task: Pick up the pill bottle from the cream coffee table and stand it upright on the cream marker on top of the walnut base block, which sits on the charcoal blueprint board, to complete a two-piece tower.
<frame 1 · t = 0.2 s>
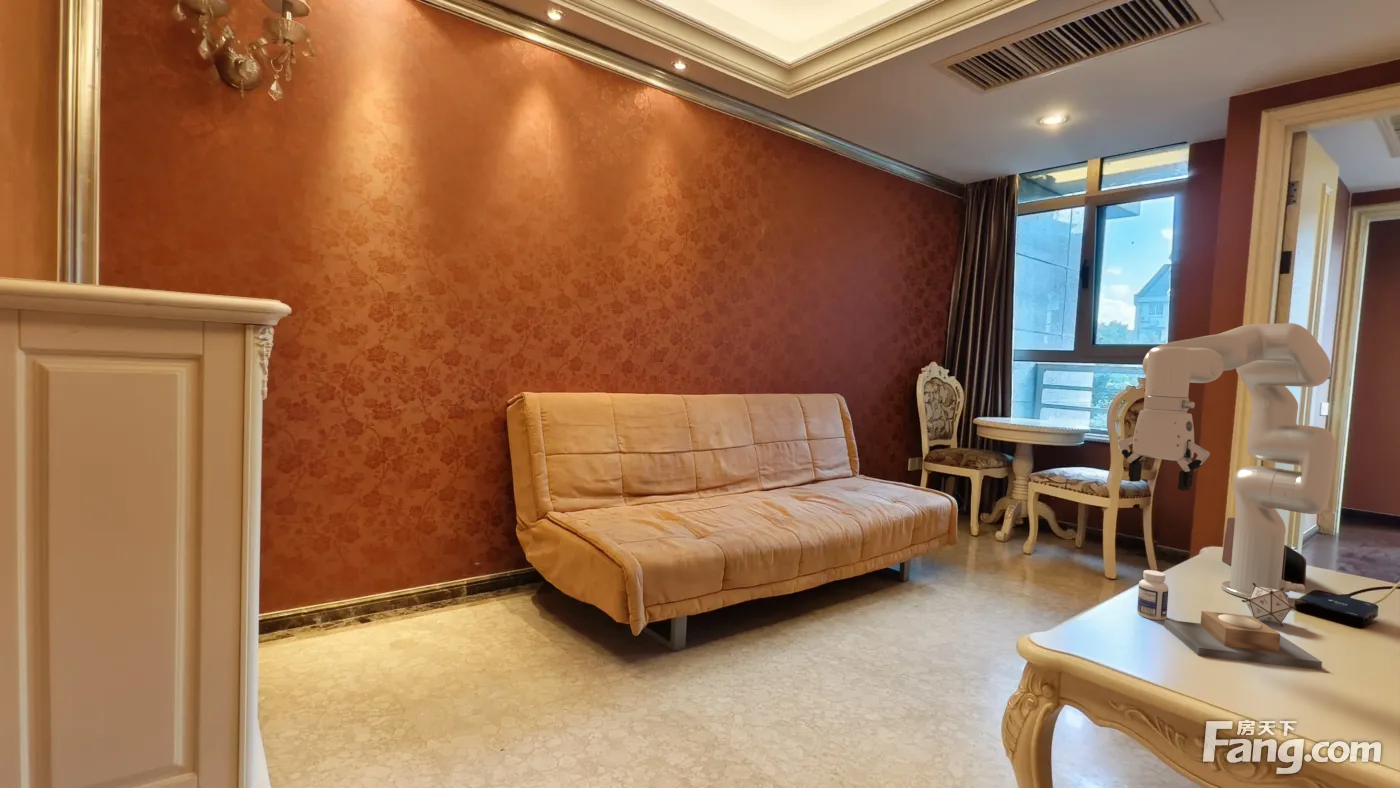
hand: (1158, 485, 140), 30 cm above the table, tool pointing down, fingers open, 9 cm apart
letter holder: (1260, 575, 179), on the table
game die: (1266, 622, 144), on the table
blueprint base: (1237, 646, 131), on the table
pill bottle: (1151, 616, 145), on the table
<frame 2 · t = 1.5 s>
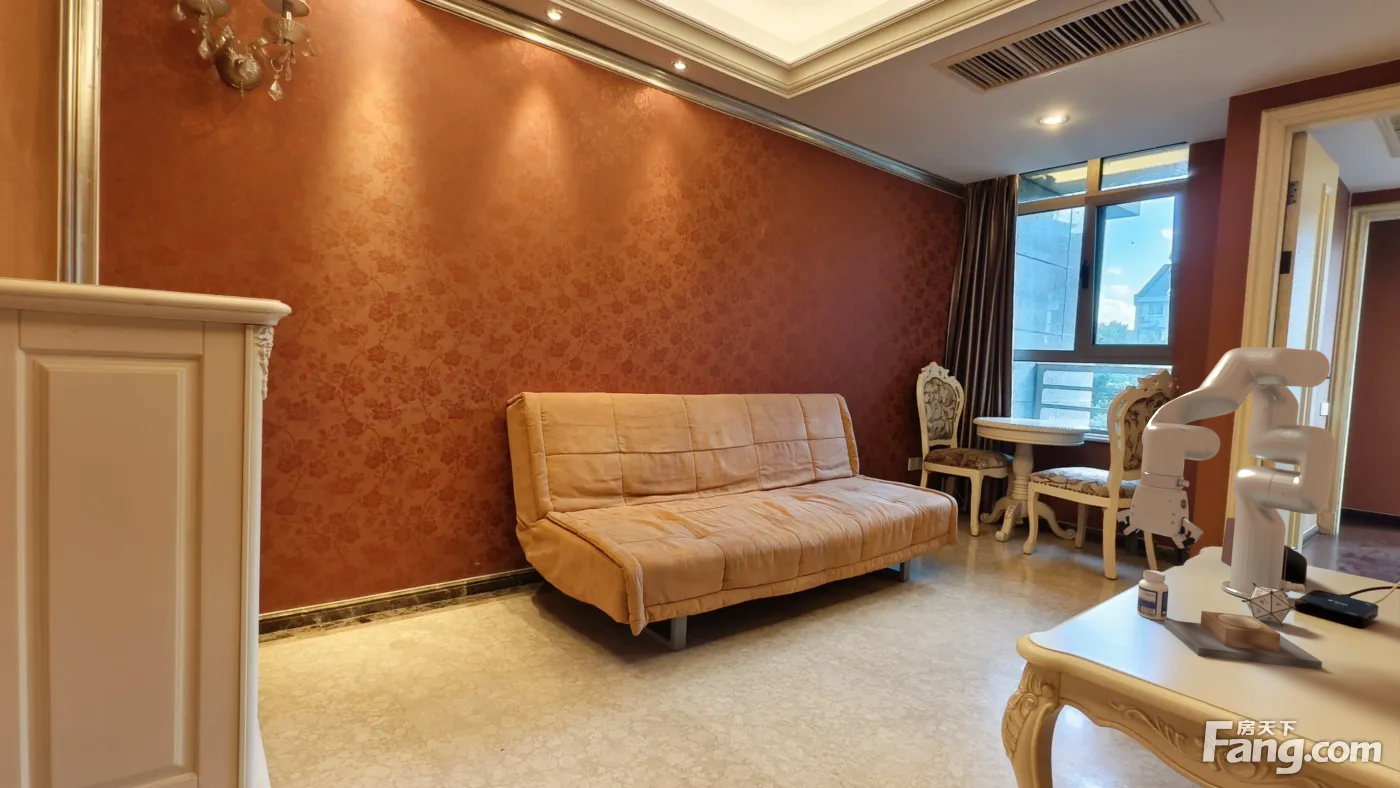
hand: (1154, 558, 144), 13 cm above the table, tool pointing down, fingers open, 9 cm apart
nothing on the table moved.
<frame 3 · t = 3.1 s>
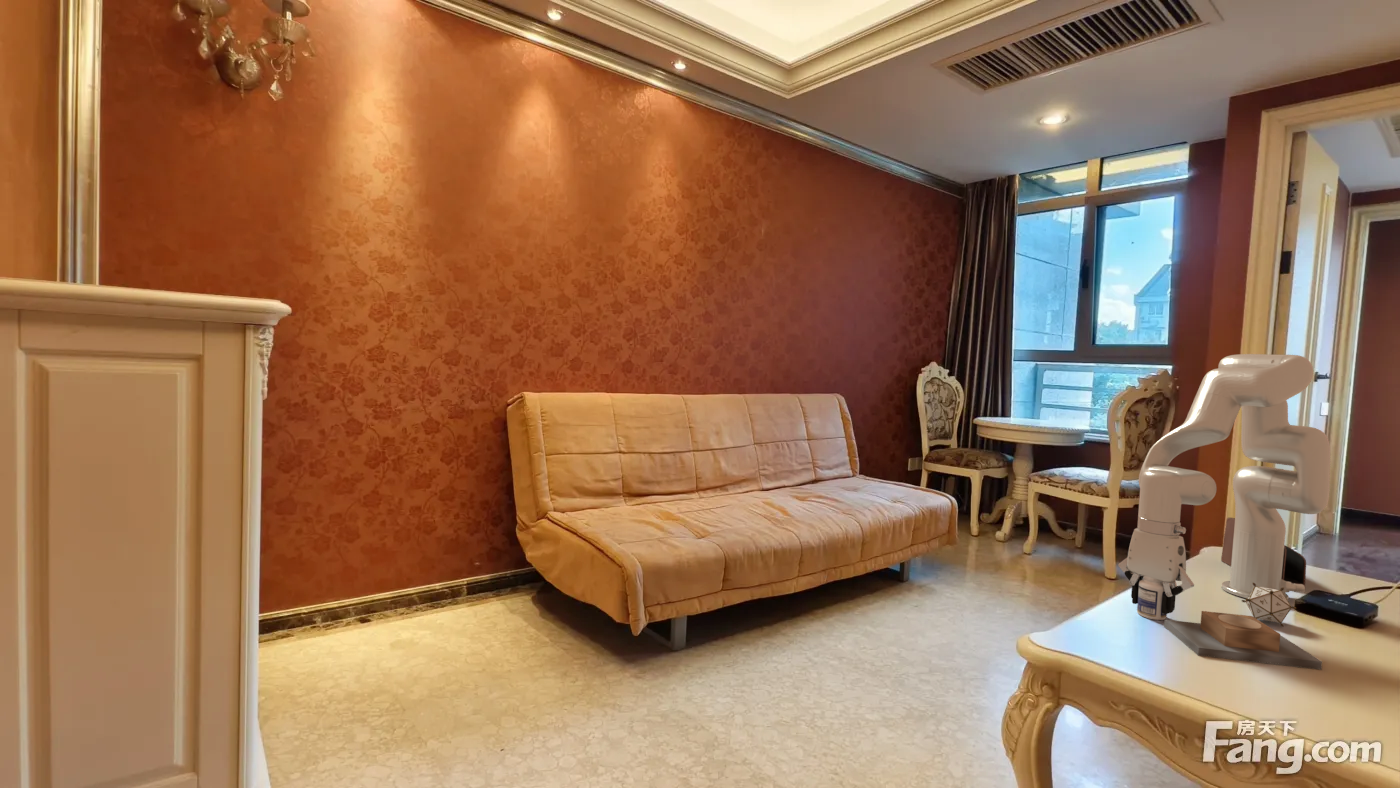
hand: (1152, 606, 145), 2 cm above the table, tool pointing down, fingers closed on pill bottle, 5 cm apart
pill bottle: (1151, 616, 145), on the table, touching gripper
everything else where it was.
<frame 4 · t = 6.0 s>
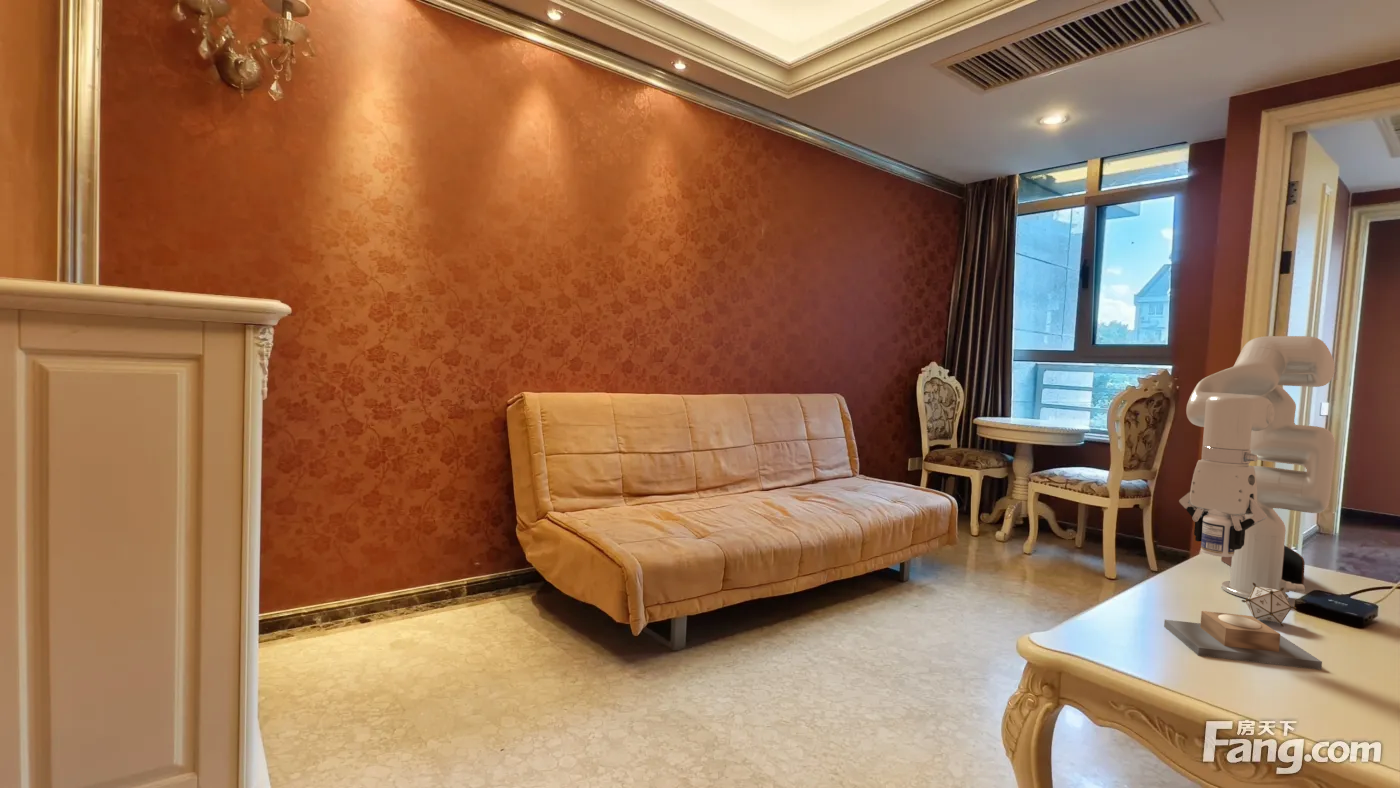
hand: (1218, 543, 134), 19 cm above the table, tool pointing down, fingers closed on pill bottle, 5 cm apart
pill bottle: (1216, 554, 134), point 17 cm above the table, touching gripper
everything else where it was.
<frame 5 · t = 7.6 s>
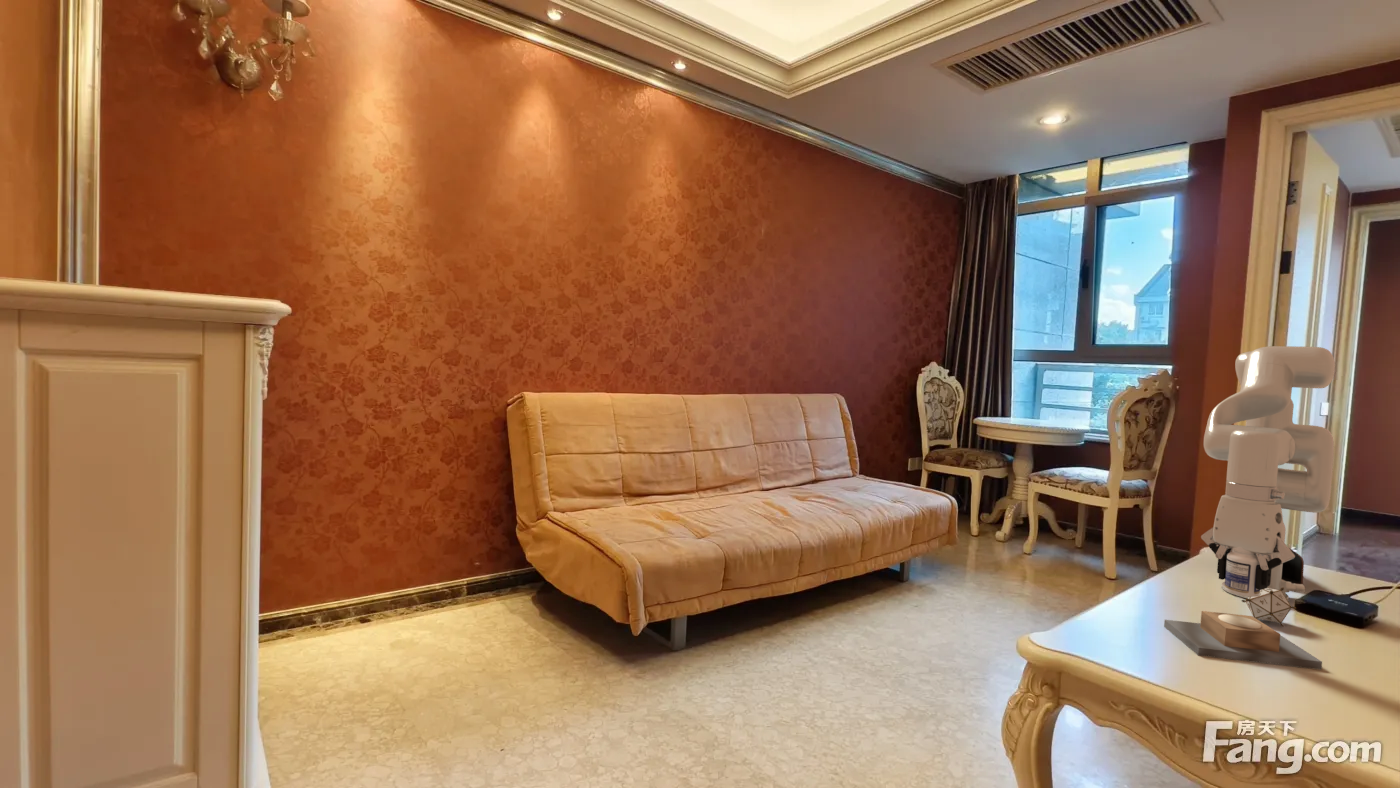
hand: (1242, 582, 130), 13 cm above the table, tool pointing down, fingers closed on pill bottle, 5 cm apart
pill bottle: (1241, 593, 130), point 11 cm above the table, touching gripper
everything else where it was.
when the fingers open (8 cm above the table, at t = 8.9 s): pill bottle drops 1 cm, resting on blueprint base.
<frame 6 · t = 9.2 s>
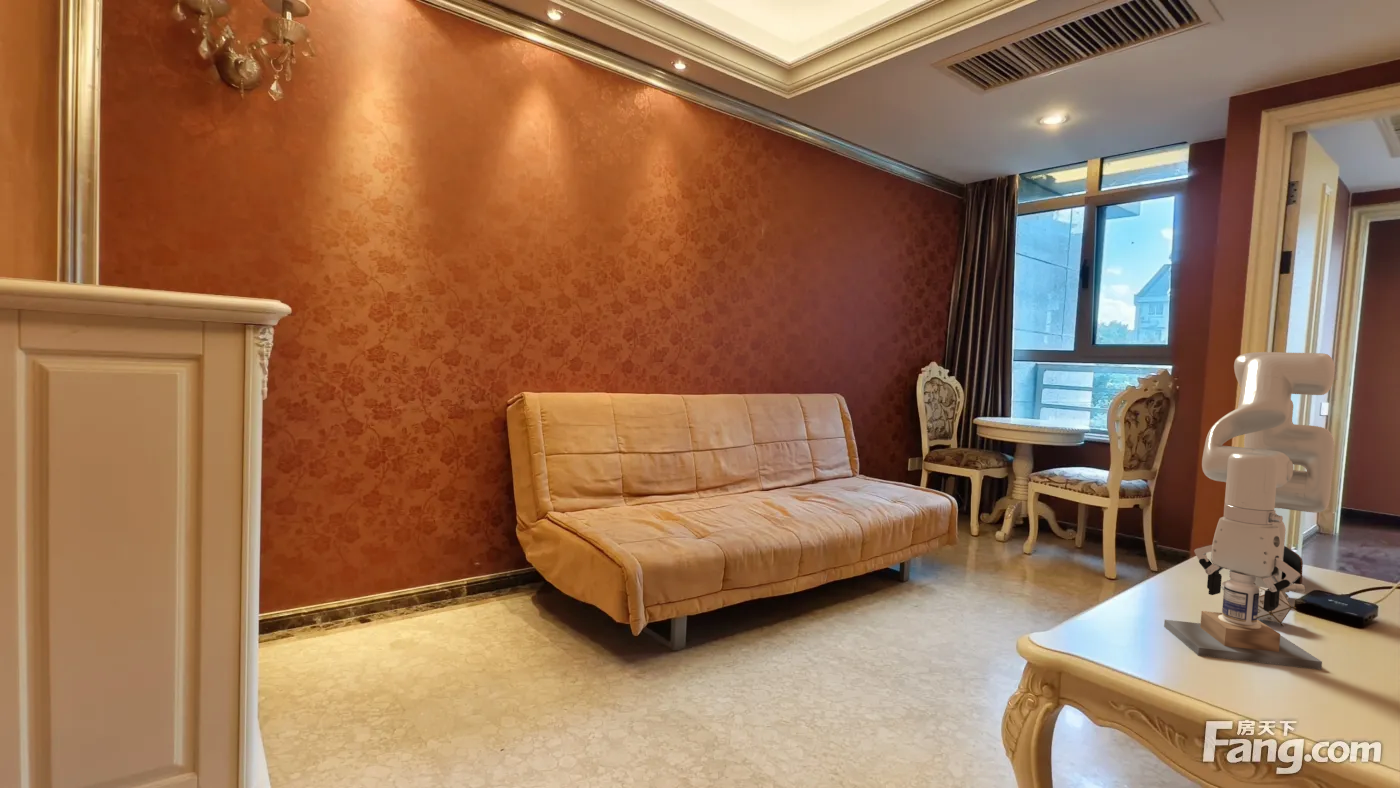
hand: (1241, 601, 130), 9 cm above the table, tool pointing down, fingers open, 8 cm apart
pill bottle: (1238, 621, 131), point 5 cm above the table, touching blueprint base
everything else where it was.
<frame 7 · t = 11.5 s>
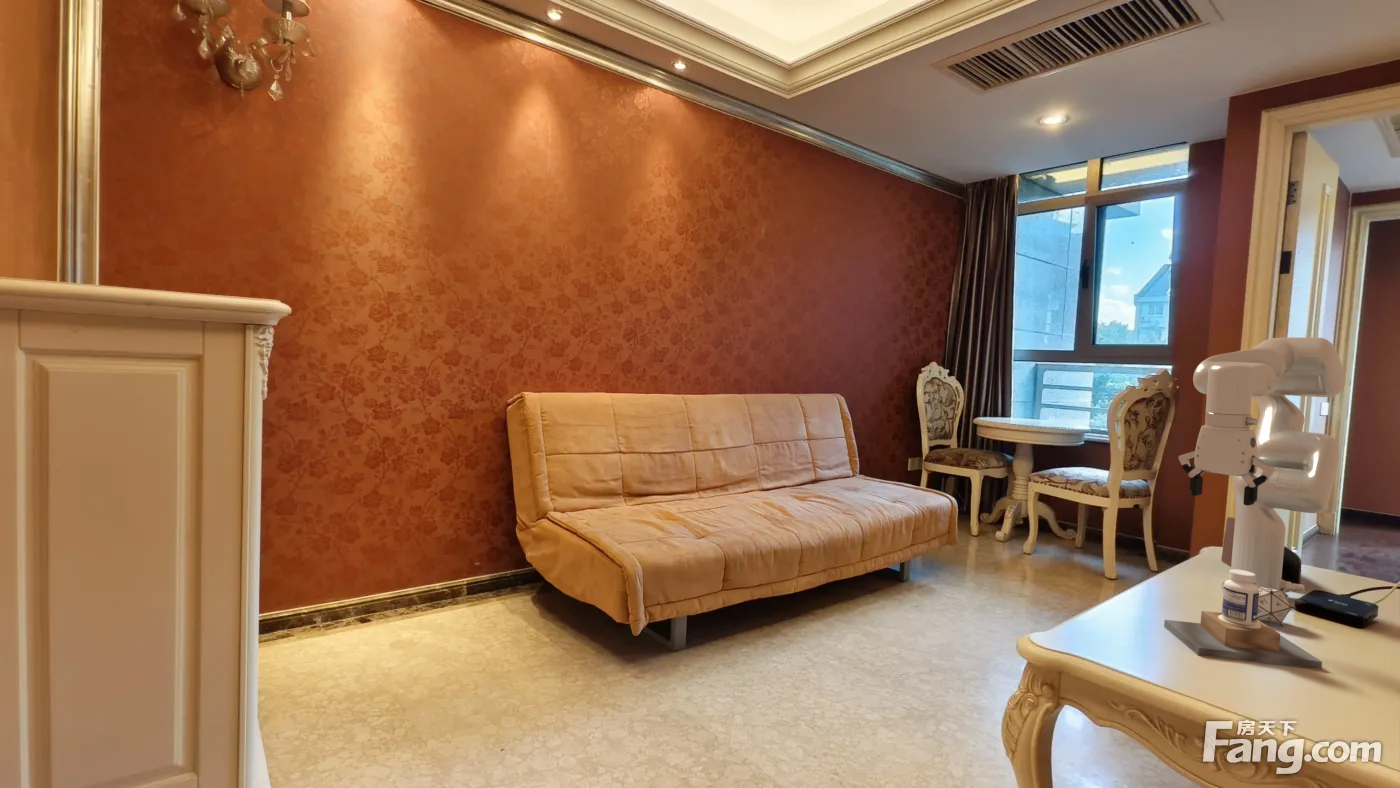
hand: (1221, 499, 143), 27 cm above the table, tool pointing down, fingers open, 9 cm apart
nothing on the table moved.
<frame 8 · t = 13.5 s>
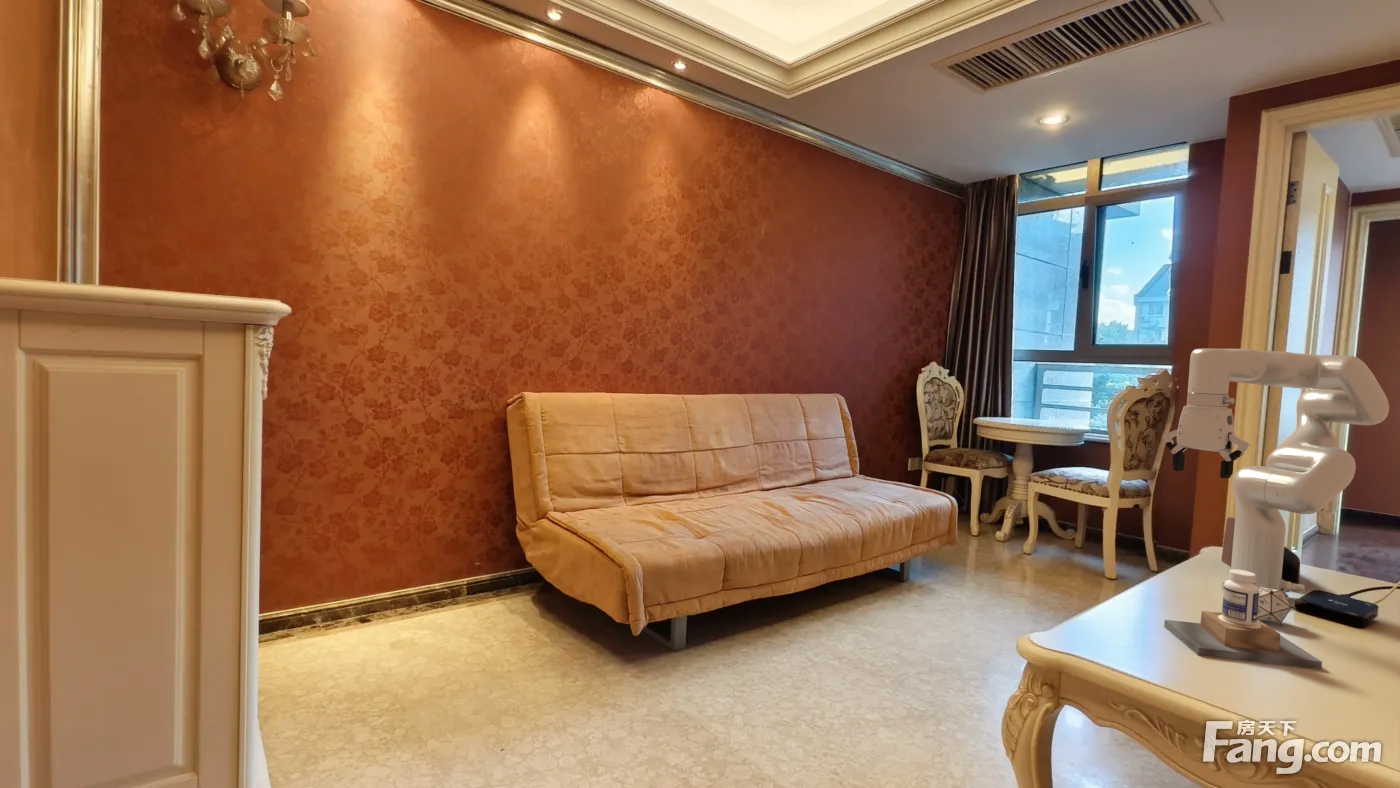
hand: (1201, 474, 154), 30 cm above the table, tool pointing down, fingers open, 9 cm apart
nothing on the table moved.
at the end: pill bottle 0.2 cm off-centre on the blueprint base, point 5.0 cm above the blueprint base's base; pill bottle tilted 0°; the gripper is holding nothing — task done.
